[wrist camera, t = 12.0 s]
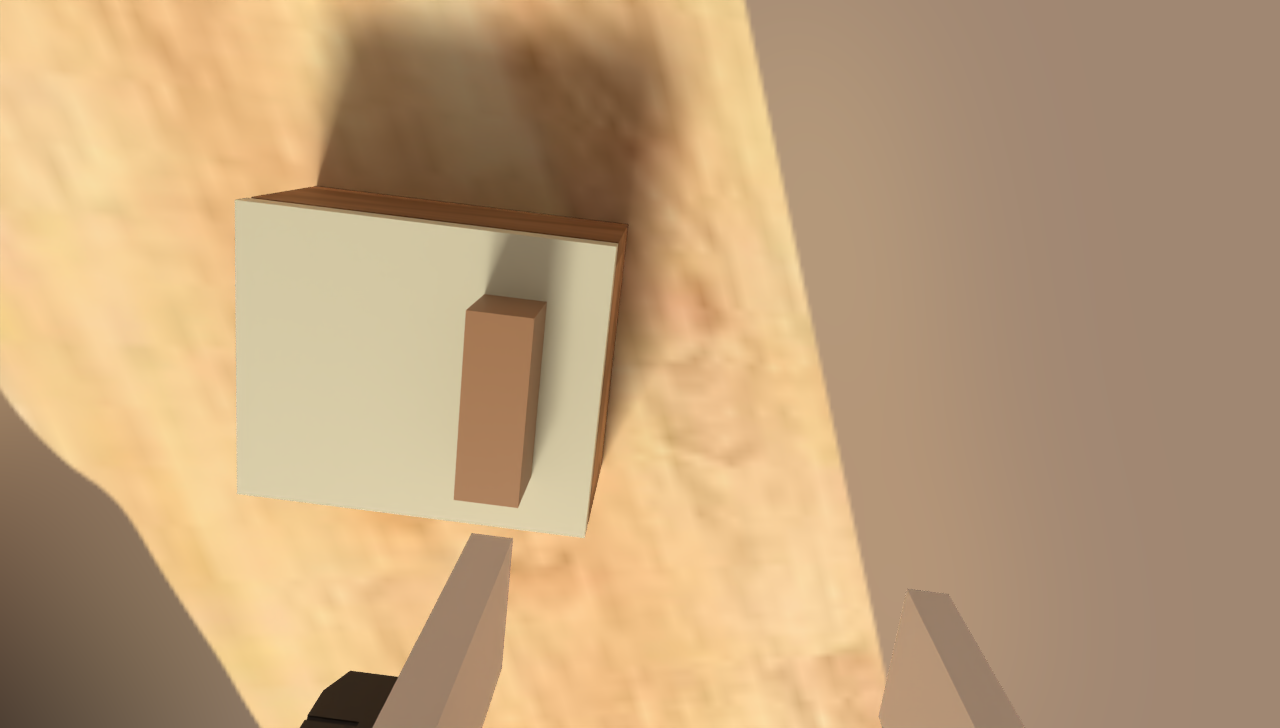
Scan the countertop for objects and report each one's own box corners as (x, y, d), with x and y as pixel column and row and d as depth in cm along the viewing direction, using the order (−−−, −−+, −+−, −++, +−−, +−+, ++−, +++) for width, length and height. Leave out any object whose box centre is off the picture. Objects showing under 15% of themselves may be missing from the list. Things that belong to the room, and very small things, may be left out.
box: (315, 186, 33) (251, 197, 28) (628, 224, 33) (618, 242, 28) (311, 431, 36) (252, 481, 31) (600, 468, 36) (588, 523, 31)
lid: (247, 197, 28) (191, 207, 25) (618, 243, 28) (610, 258, 25) (248, 484, 31) (198, 526, 28) (587, 527, 31) (576, 574, 27)
